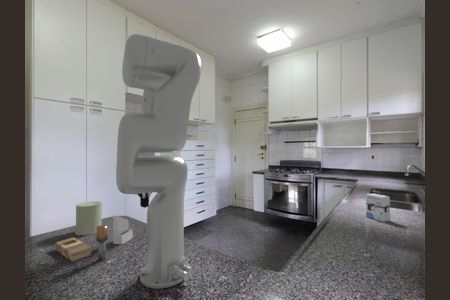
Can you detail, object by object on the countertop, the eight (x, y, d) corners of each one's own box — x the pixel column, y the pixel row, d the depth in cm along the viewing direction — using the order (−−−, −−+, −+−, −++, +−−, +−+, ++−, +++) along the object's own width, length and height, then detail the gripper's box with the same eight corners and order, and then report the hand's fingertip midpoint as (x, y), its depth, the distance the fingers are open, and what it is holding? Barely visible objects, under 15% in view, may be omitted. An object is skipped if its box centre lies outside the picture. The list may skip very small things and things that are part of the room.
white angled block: (103, 241, 67) (113, 215, 72) (121, 245, 76) (129, 221, 80) (112, 242, 66) (122, 216, 71) (129, 246, 75) (137, 222, 79)
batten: (91, 254, 63) (91, 247, 63) (72, 261, 59) (72, 253, 59) (73, 243, 71) (73, 237, 71) (55, 249, 67) (55, 242, 67)
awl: (109, 259, 61) (109, 226, 61) (98, 263, 58) (99, 229, 58) (104, 256, 62) (105, 224, 63) (94, 260, 60) (94, 227, 60)
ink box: (365, 216, 102) (365, 193, 102) (372, 215, 103) (372, 193, 104) (383, 222, 94) (382, 197, 94) (390, 221, 95) (390, 196, 95)
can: (99, 233, 81) (99, 203, 81) (71, 237, 77) (72, 206, 77) (103, 226, 89) (104, 199, 89) (79, 228, 86) (79, 201, 86)
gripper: (133, 163, 74) (132, 213, 74) (165, 162, 86) (165, 204, 86) (122, 163, 78) (121, 209, 78) (154, 161, 91) (154, 201, 91)
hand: (144, 206), depth 82 cm, fingers closed
